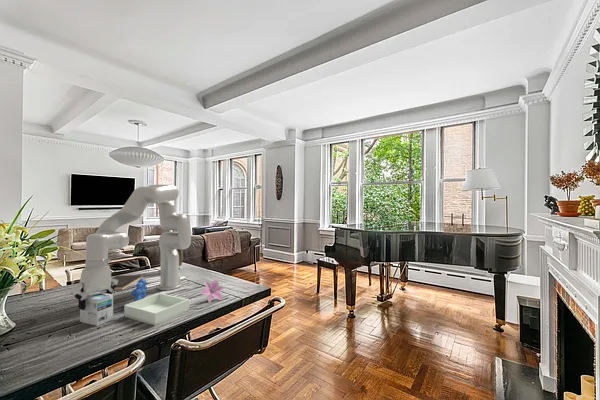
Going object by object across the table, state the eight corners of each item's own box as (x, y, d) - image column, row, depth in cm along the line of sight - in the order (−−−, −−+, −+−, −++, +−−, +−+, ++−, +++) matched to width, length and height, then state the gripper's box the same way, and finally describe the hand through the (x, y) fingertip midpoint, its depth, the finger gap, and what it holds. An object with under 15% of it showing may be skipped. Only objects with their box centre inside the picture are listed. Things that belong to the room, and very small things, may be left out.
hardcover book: (142, 278, 174) (142, 275, 174) (123, 290, 151) (123, 286, 151) (116, 279, 172) (116, 275, 172) (92, 291, 149) (92, 287, 149)
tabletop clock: (181, 269, 196) (181, 234, 196) (183, 272, 189) (183, 236, 189) (158, 271, 189) (159, 235, 189) (159, 274, 181) (160, 237, 181)
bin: (159, 303, 133) (159, 292, 133) (188, 310, 125) (189, 299, 125) (124, 316, 117) (124, 305, 117) (155, 325, 109) (155, 313, 109)
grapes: (134, 300, 135) (135, 276, 135) (149, 299, 137) (150, 275, 137) (126, 309, 124) (126, 283, 124) (142, 308, 126) (142, 282, 126)
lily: (195, 304, 134) (200, 290, 131) (200, 288, 145) (205, 274, 142) (219, 310, 137) (225, 295, 134) (222, 293, 148) (228, 280, 145)
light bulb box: (113, 319, 114) (114, 293, 114) (97, 326, 108) (97, 299, 108) (95, 315, 118) (96, 290, 118) (78, 322, 111) (79, 295, 111)
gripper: (112, 259, 122) (111, 297, 122) (66, 266, 106) (65, 311, 106) (123, 260, 119) (122, 300, 119) (78, 269, 103) (76, 314, 103)
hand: (95, 305), depth 112 cm, fingers open, 9 cm apart
